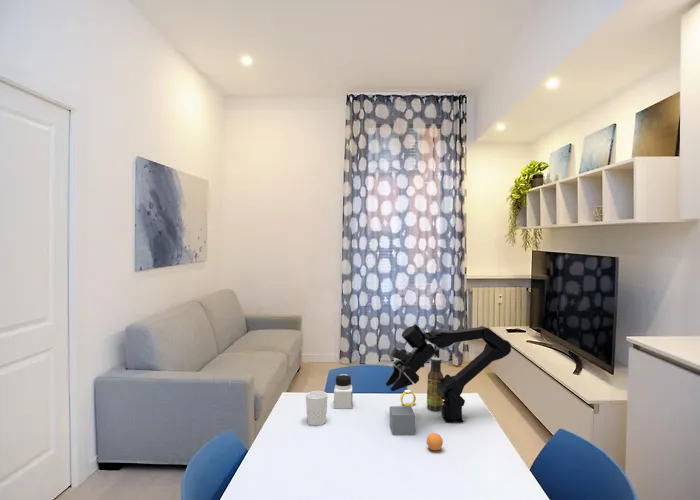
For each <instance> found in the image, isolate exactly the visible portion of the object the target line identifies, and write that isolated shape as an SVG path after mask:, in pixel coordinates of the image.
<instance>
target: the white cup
mask: <svg viewBox="0 0 700 500" xmlns="http://www.w3.org/2000/svg"><path fill="white" fill-rule="evenodd" d="M305 404H306V405H305V407H306V408H305V409H306V416H307V417H306V419H307V423H308V425H309V426H314V427H316V426H323V425H325V424H326V422H327V413H328V412H327V411H328V393H327V392H325V391H323V390H312V391H310V392H307V393H305Z"/></svg>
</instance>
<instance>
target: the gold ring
mask: <svg viewBox="0 0 700 500" xmlns="http://www.w3.org/2000/svg"><path fill="white" fill-rule="evenodd" d="M403 391H404V392H402V394H401V395H400V402H401V404H402V406H411V407H412V406H413V405H415V404H416V403H415V402H416V400H417V399H416V395H415V393H414V392H412V390H411V389H405V390H403ZM409 394H412V396H413V400H412V402H411V403H407V404H405V403H404V402H403V397H404V396H405V395H409Z"/></svg>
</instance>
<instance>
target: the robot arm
mask: <svg viewBox="0 0 700 500" xmlns="http://www.w3.org/2000/svg"><path fill="white" fill-rule="evenodd" d="M401 337H402V338H403V339H404V340H405V342H406V343H407V344H408V345H409V346H410V347H411V349H414V348H415V350H414V351H412V352H409V353H407V350H405V349H404V348H400V349H398V348H396V347H393V349H392V352H391V353H390V356H391V357H393V358H395V359H396V360H394V362H393V364H392V372H391V375H390V376H389V378H388V379H387V381H386V382H385V385H386V387H389V386H391V385H392V386H391V387H390V389H389V390H390V391H391V392H395V391H398V390H400V389H403V388H406V387H409V386H413V385H414V384H415V385H416V384H417V383H418V382H419V381H420V376H419V374H418V371H419V370H420V369H421V368H425V367H426V365H425V364H426V363H427V362H428V361H429V360H431V358H432V357H433V356H434V357H437V358H441V357H440V351H441V350H439V349H445V348H448V347H450V346H452V345H453V344H455V343H460V342H467V341H473V340H474V341H475V340H481V339H482V340H483V342H484V343H485V345H484V348H483V351H482V352H480V353H479V354H478V355H477V356H476V357H474V358H473V360H471V361H470V362H469V363H467V365H465V366H464V367H463V368H462V369H461V370H460V371H458V372H457V373H456V374H455V375H452V376H451V375H449V374H445V375H444V376H443V379H441V380H439V381H440V382H439V383H438V385H437V392H438V394H439V395H440V396H441V398H442V399H443V405H442V410H441V417H442V418H443V420H444V422H445V423H448V424H449V423H452V424H453V423H464V419H463V407H464V406H465V404H466V403H465V402H466V400H465V399H464V398H463V397H462V396H461V395H462V393H463V390H464V389H465V386H466V385H467V384H468V383H469V382H471V381H472V380H473V379H474V378H476V377H477V376H478V374H480V373H481V372H482V371H484V369H486V368H487V367H488V366H489V365H491V364H492V362H494V361H499V360H502V359H503V358H505V357H507V356H509V354H510V353H511V352H512V345H511V342H510V341H508V340H506V339H503V338H501V337H500V336H499V335H498V334H496V333H495V332H494V331H493V330H492V329H490V327H486V326H483V325H480V326H479V327H470V328H463V329H462V328H461V329H454V330H450V329H441V328H434V329H432V330H431V331H429V332H423V331H422V330H421V328H420V326H419V325H417V324H413V325H412V326H408V328H407V327H406V328H405V329H404V330H403V331H402V334H401ZM427 342H428V343H427ZM434 346H435V347H437V348H435V347H434ZM438 348H439V349H438Z"/></svg>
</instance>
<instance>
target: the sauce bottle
mask: <svg viewBox="0 0 700 500" xmlns="http://www.w3.org/2000/svg"><path fill="white" fill-rule="evenodd" d="M441 365H442V358H441V357H439V358H437V357H436V356H434V357H433V356H432V357H431V358H430V370H429V372H428V374H427V379H426V380H427V382H426V384H427V386H426V408H427V409H428V410H430V411H433V412H439V411H442V405H443V401H444V400H443V399H442V398H441V396H440V395H439V394H438V392H437V385H438V383H439V382H440V381H439V380H441V379H443V378H444V375H443V373H442V371H441V370H442V368H441V367H442V366H441Z"/></svg>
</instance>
